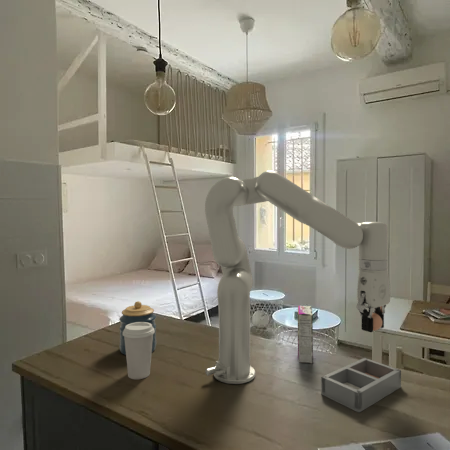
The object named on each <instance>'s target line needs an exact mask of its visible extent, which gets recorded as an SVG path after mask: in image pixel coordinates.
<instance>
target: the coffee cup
mask: <svg viewBox="0 0 450 450" xmlns="http://www.w3.org/2000/svg"><path fill="white" fill-rule="evenodd" d="M154 333H155V330H154V328H153V327H152V324H151V323H148V322H135V323H131V324H128V325H126V326H125V329H124V331H123V334H122V335H123V336H124V339H125V349H126V355H125V356H126V357H125V358H126V369H127V377H128V378H129V379H132V380H141V379H143V380H144V379H145V378H148V377H149V376H150V374H151V365H152V363H151V361H152V353H153V352H152V341H153V334H154Z"/></svg>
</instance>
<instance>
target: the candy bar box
mask: <svg viewBox="0 0 450 450" xmlns="http://www.w3.org/2000/svg"><path fill="white" fill-rule="evenodd" d="M313 315H314V314H313V309H312V306H311V305H297V360H298V363H302V364H313V362H314V347H313V346H314V331H313V330H314V329H313V327H314V326H313V325H314V324H313Z"/></svg>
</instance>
